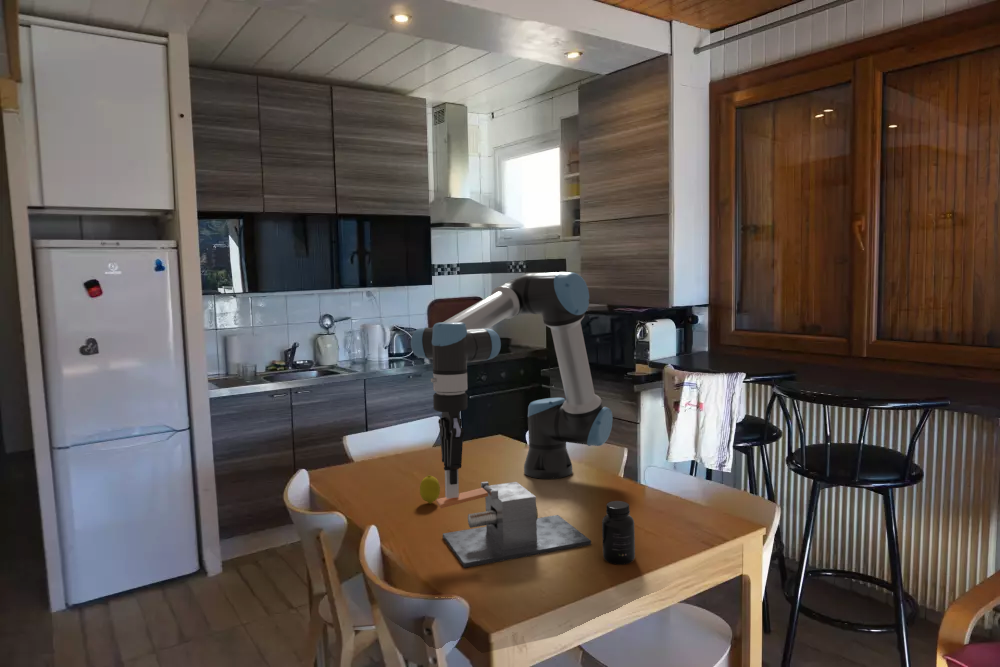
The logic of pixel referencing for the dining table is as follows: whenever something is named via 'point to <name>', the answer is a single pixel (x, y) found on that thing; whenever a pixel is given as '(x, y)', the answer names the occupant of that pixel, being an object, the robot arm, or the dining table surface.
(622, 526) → the supplement bottle
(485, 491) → the tan flat bar
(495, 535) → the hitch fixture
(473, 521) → the lynch pin
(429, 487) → the lemon
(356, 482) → the dining table surface
